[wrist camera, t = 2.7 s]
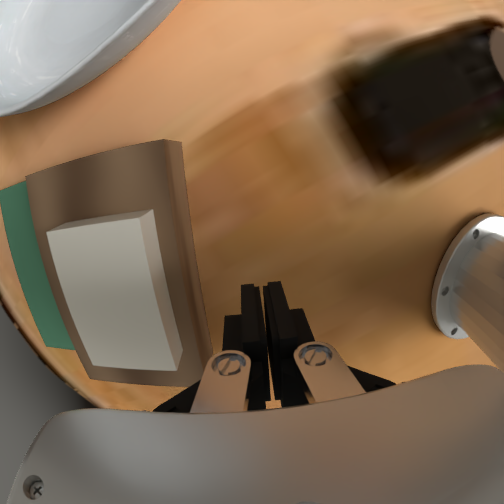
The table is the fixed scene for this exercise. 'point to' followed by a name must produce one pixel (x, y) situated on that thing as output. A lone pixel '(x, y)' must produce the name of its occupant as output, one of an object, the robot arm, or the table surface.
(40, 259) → the mat
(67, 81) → the serving bowl
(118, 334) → the light grey flat block
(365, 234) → the table surface
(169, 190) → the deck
